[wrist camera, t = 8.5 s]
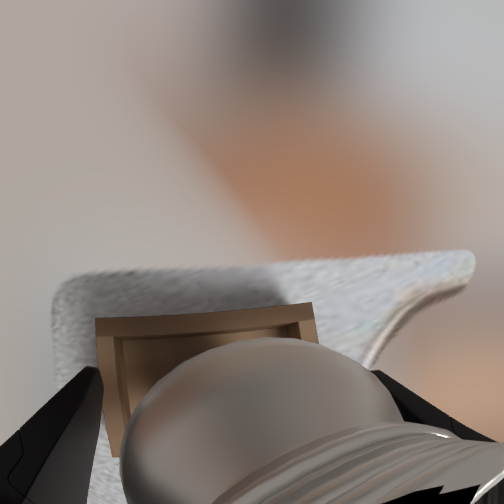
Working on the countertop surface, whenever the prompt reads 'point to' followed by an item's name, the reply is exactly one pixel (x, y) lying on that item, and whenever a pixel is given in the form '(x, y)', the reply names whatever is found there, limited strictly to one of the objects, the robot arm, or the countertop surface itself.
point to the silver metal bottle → (293, 436)
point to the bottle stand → (177, 349)
